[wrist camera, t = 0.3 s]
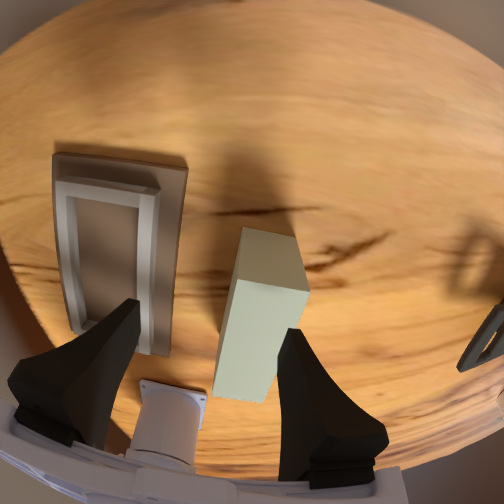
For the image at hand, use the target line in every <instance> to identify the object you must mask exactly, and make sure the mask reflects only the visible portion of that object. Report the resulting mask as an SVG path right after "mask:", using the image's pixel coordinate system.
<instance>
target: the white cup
mask: <svg viewBox="0 0 504 504" xmlns="http://www.w3.org/2000/svg"><path fill="white" fill-rule="evenodd" d="M497 404H498V406H499V409H500V412H501V414H502V417H503V420H504V391H503V392H502V393H501V394H500V395H499V397H498V398H497Z"/></svg>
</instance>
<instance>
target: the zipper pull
mask: <svg viewBox="0 0 504 504" xmlns="http://www.w3.org/2000/svg"><path fill="white" fill-rule="evenodd" d="M495 331H496V332H497V334H496V335H495V337H494V338H493V340H492V341H491V343H490V344H489V346H488V347H487V348H486V350H485V351H483V349H484V348H485V347H486V345H487V344H488V342H489V341H490V339H491V338H492V336H493V334H494V333H495ZM482 351H483V352H482ZM481 352H482V353H481ZM503 354H504V300H503V302H502V303H501V304H497V305H495V306H494V308H493V309H492V311H491V312H490V313H489V315H488V316H487V317H486V319H485V320H484V322H483V323H482V325H481V326H480V328H479V329H478V331H477V332H476V334H475V335H474V337H473V338H472V340H471V341H470V343H469V344H468V346H467V348H466V349H465V351H464V353H463V354H462V356H461V358H460V360H459V362H458V364H457V366H456V368H457V369H458V371H459V372H461V373H462V372H464V371H467V370H469V369H472V368H474V367H477V366H479V365H481V364H484V363H486V362H488V361H490V360H492V359H495V358H497V357H499V356H501V355H503Z"/></svg>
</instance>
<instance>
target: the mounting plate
mask: <svg viewBox="0 0 504 504" xmlns="http://www.w3.org/2000/svg"><path fill="white" fill-rule="evenodd" d="M188 170H189V169H188V168H182V167H176V166H170V165H163V164H157V163H150V162H143V161H136V160H128V159H121V158H113V157H104V156H95V155H86V154H76V153H64V152H58V153H55V154H53V155H52V199H53V218H54V231H55V241H56V250H57V258H58V265H59V272H60V279H61V285H62V290H63V296H64V301H65V306H66V311H67V315H68V320H69V324H70V328H71V331H74V334H77V335H82V334H83V333H85V332H86V331H88V330H89V329H90V328H92V327H93V326H95V325H96V324H97V323H99V322H100V321H101V320H102V319H104V318H105V317H106V316H107V315H109V314H110V313H111V312H112V311H113V310H115V309H116V308H117V307H118V306H119V305H120V304H122V303H123V302H124V301H125V300H126V299H128V298H131V299H135V300H140V315H141V333H140V337H139V340H138V343H137V346H136V349H135V351H134V352H138V353H141V354H145V355H149V356H150V354H154V355H159V356H163V357H167V358H169V354H170V351H171V332H172V315H173V301H174V288H175V276H176V266H177V256H178V246H179V237H180V228H181V220H182V212H183V205H184V197H185V190H186V183H187V177H188Z"/></svg>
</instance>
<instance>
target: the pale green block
mask: <svg viewBox="0 0 504 504" xmlns="http://www.w3.org/2000/svg"><path fill="white" fill-rule="evenodd" d="M309 295H310V288H309V284H308V280H307V277H306V273H305V269H304V265H303V261H302V258H301V254H300V250H299V247H298V243H297V239H296V237H291V236H286V235H282V234H277V233H272V232H267V231H262V230H257V229H252V228H247V227H243V228H242V233H241V237H240V242H239V246H238V251H237V256H236V260H235V265H234V269H233V274H232V279H231V283H230V288H229V293H228V298H227V302H226V307H225V312H224V317H223V321H222V326H221V331H220V336H219V343H218V350H217V358H216V365H215V373H214V380H213V388H212V396H216V397H222V398H229V399H236V400H243V401H251V402H260V403H263V402H264V399H265V397H266V395H267V393H268V391H269V389H270V387H271V384H272V382H273V380H274V378H275V376H276V373H277V356H278V353H279V351H280V348H281V346H282V343H283V340H284V338H285V335H286V333H287V330H288V328H294V329H296V327H297V325H298V322H299V320H300V317H301V315H302V312H303V310H304V307H305V305H306V302H307V300H308V297H309Z"/></svg>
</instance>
